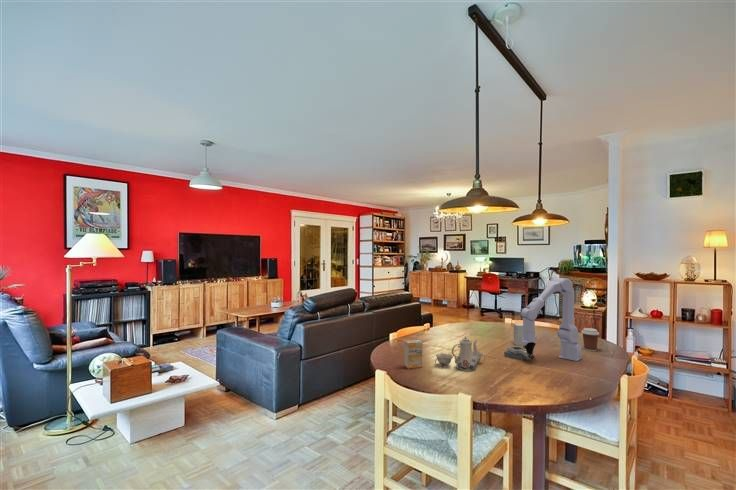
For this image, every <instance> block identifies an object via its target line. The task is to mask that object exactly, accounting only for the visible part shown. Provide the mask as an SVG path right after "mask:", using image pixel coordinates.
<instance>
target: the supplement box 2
mask: <svg viewBox="0 0 736 490" xmlns="http://www.w3.org/2000/svg"><path fill="white" fill-rule="evenodd" d="M512 325H513V326H512V327H513V343H514V344H515V345H516V346H520V347H522V339H521V338H523V322H513V324H512Z"/></svg>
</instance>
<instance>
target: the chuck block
mask: <svg viewBox="0 0 736 490" xmlns="http://www.w3.org/2000/svg"><path fill="white" fill-rule="evenodd" d="M503 355H504V356H503V357H505V358H509V359H510V358H511V359H515V360H520V361H524V360H525V359H527V358H528V357H526V356H524V355H522V354H514V353H512V352H510V351H508V350H506V351H504V354H503Z"/></svg>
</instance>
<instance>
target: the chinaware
mask: <svg viewBox="0 0 736 490" xmlns="http://www.w3.org/2000/svg"><path fill="white" fill-rule="evenodd" d="M477 343H478V339H475V340H474V341H472V340H470V339H469V338H468V337H467V336H466V335H465V336H464V338H462V339H461V340H459V343H456V344H454V345H453V347H452V349H451V353H450V354H446V353H445V352H443V353H440V354H438V353H437V354H435V357H436V359H435V361H434V364H435V365H437V366H440V367H442V366H445V367H444V368H447V367H448V365H450V364H451V362H452V359H453V357H454V363H455V365H456V366H457V369H458V370H460V371H464V372H472V371H475V368H476V367H477V366H478V363H480V362H481V361H482V362H483V361H485V360H486V356H485V355H484V353H483V352H480V351H479V350H478V346H477ZM472 346H473V349H472ZM455 347H458V349H459V353H458V355H455V354H454V349H455ZM482 357H484V359H482ZM437 362H438V363H437ZM446 366H447V367H446Z"/></svg>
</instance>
